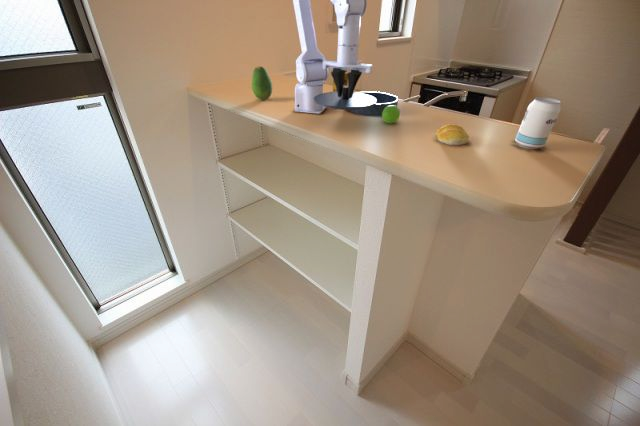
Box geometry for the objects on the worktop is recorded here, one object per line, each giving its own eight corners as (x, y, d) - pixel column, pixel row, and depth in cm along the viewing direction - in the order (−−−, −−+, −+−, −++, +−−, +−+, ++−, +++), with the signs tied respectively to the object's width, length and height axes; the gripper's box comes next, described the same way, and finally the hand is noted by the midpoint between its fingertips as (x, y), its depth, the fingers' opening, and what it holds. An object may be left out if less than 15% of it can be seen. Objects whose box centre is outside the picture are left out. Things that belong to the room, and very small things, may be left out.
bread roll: (438, 145, 81) (442, 130, 79) (434, 134, 88) (437, 120, 86) (471, 147, 80) (475, 133, 77) (463, 136, 87) (467, 122, 85)
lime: (380, 124, 95) (382, 107, 91) (382, 119, 99) (384, 102, 96) (397, 126, 93) (400, 108, 90) (398, 121, 98) (401, 104, 95)
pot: (342, 113, 105) (342, 101, 102) (352, 100, 119) (353, 90, 117) (394, 118, 101) (396, 105, 98) (398, 104, 115) (399, 93, 113)
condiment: (335, 98, 122) (337, 66, 115) (327, 93, 128) (328, 62, 121) (351, 97, 124) (353, 65, 117) (342, 92, 131) (344, 62, 124)
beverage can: (535, 152, 77) (557, 105, 70) (508, 144, 82) (526, 99, 75) (547, 147, 81) (568, 101, 74) (520, 139, 85) (538, 95, 78)
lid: (302, 105, 87) (302, 89, 84) (330, 92, 101) (330, 78, 98) (363, 114, 80) (364, 97, 77) (384, 99, 94) (386, 84, 91)
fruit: (252, 97, 121) (248, 65, 114) (271, 96, 123) (269, 64, 116) (254, 102, 115) (250, 68, 108) (274, 101, 116) (272, 67, 110)
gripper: (378, 45, 82) (372, 97, 90) (330, 42, 87) (329, 91, 95) (369, 47, 77) (364, 102, 84) (319, 44, 82) (319, 96, 90)
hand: (345, 97), depth 89 cm, fingers closed on lid, 2 cm apart
